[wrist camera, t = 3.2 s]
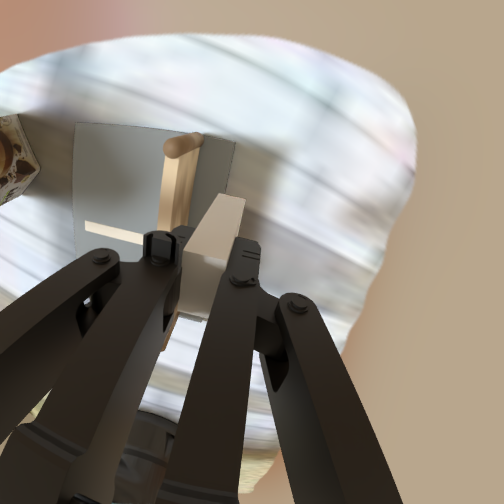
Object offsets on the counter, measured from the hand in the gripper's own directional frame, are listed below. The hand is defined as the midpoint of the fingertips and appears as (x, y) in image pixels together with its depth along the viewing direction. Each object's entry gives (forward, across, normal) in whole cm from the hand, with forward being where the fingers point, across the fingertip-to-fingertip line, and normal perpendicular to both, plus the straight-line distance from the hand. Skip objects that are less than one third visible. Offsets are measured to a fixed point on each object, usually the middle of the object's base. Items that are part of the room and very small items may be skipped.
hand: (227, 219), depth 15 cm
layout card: (+9, +10, +7) cm, 15 cm away
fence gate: (+9, +5, +2) cm, 10 cm away
